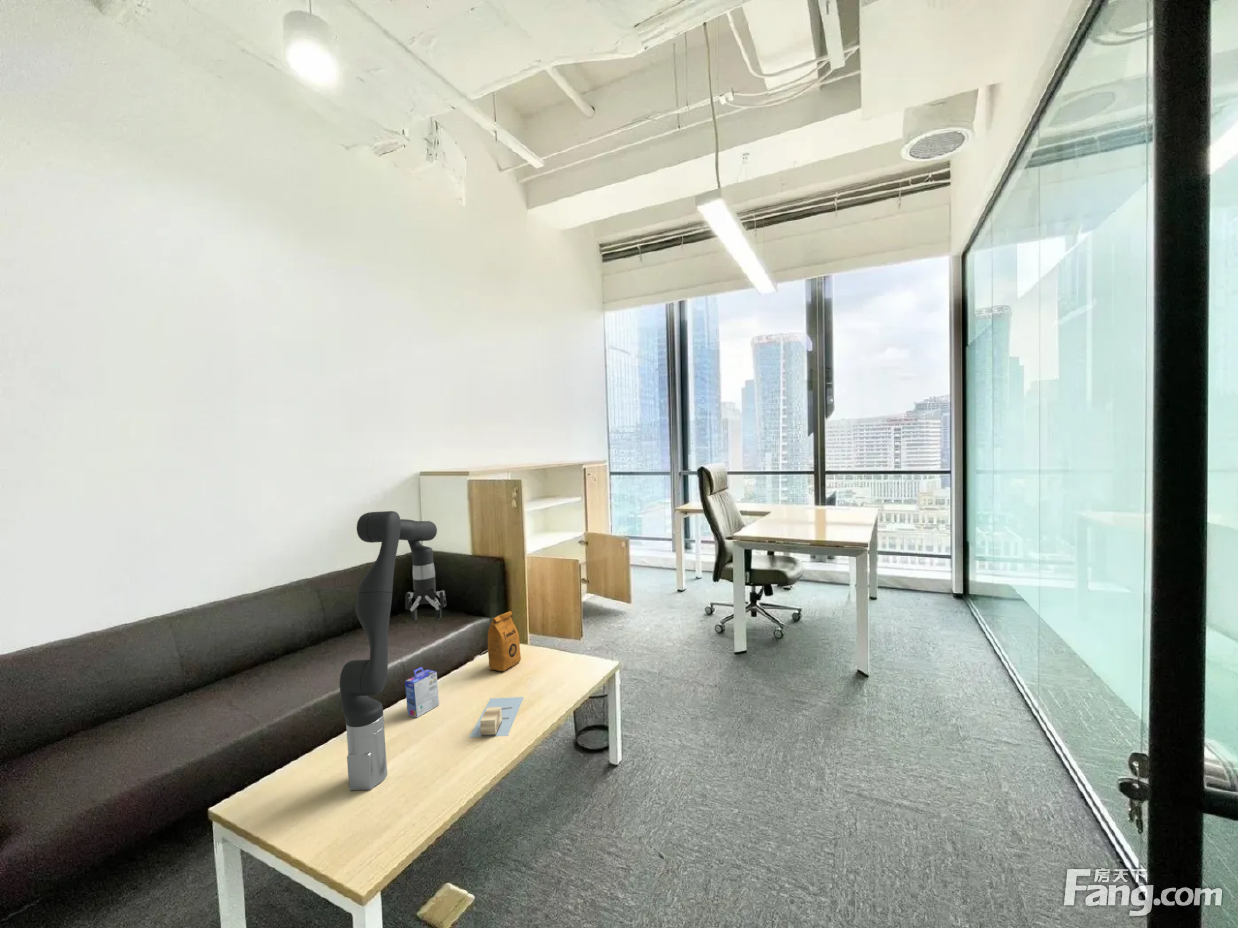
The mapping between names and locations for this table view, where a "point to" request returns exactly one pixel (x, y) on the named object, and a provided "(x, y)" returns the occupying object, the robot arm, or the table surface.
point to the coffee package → (503, 643)
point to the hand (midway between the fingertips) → (426, 619)
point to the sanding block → (491, 721)
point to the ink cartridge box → (421, 692)
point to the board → (508, 714)
